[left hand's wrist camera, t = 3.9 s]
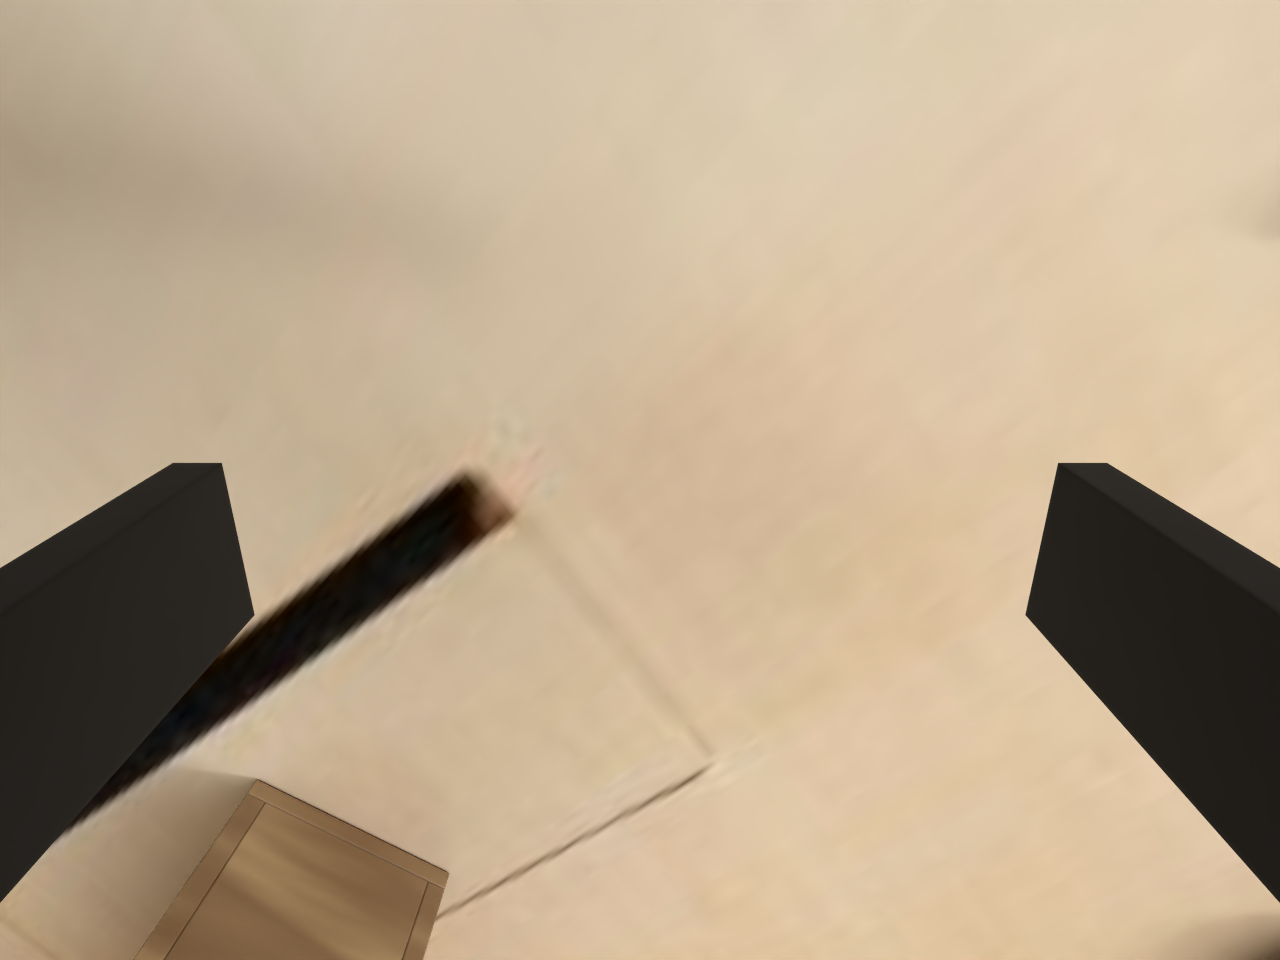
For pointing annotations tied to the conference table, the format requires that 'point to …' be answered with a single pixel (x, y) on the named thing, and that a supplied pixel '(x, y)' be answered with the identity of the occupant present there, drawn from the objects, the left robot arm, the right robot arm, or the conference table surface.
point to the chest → (299, 892)
